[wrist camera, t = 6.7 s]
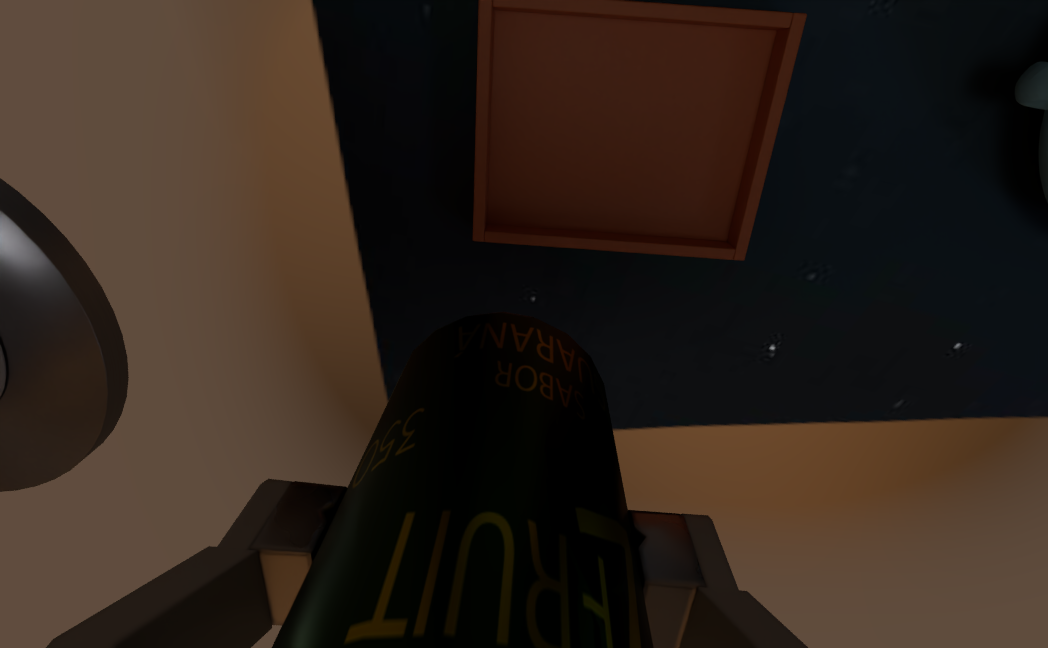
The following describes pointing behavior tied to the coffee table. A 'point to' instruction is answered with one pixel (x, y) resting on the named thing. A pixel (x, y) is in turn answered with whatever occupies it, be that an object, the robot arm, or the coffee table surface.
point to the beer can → (482, 507)
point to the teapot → (1042, 91)
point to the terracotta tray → (627, 123)
